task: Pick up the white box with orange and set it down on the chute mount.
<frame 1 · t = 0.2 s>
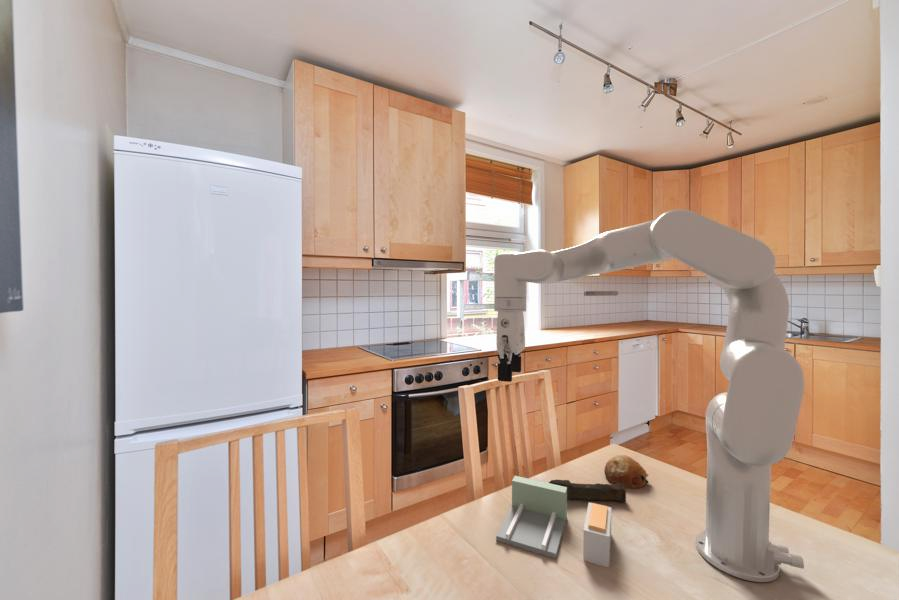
hand: (510, 376, 89), 31 cm above the table, tool pointing down, fingers open, 9 cm apart
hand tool: (585, 501, 90), on the table
chute mount: (533, 528, 80), on the table
bread roll: (626, 480, 100), on the table
white box with orange: (597, 547, 74), on the table
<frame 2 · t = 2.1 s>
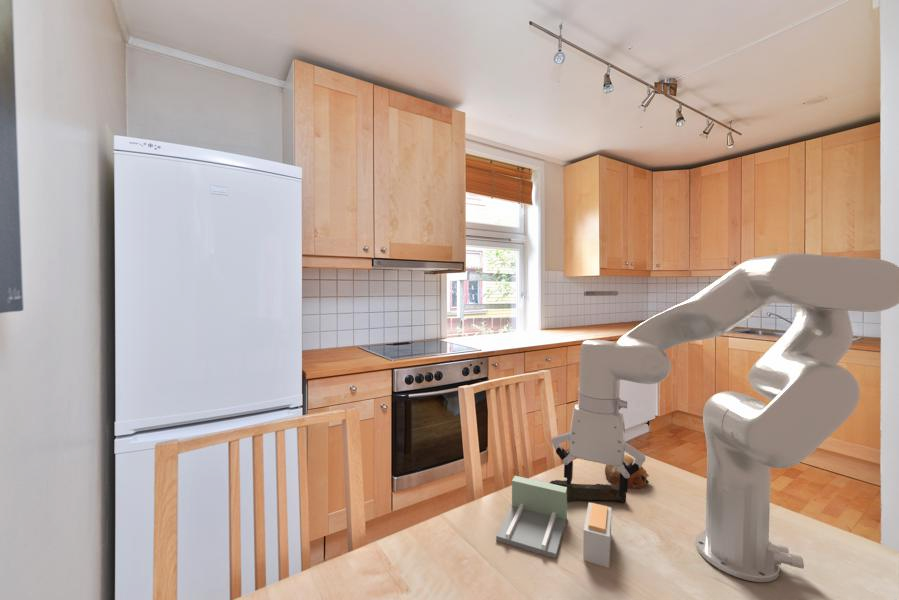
hand: (594, 487, 74), 12 cm above the table, tool pointing down, fingers open, 9 cm apart
nothing on the table moved.
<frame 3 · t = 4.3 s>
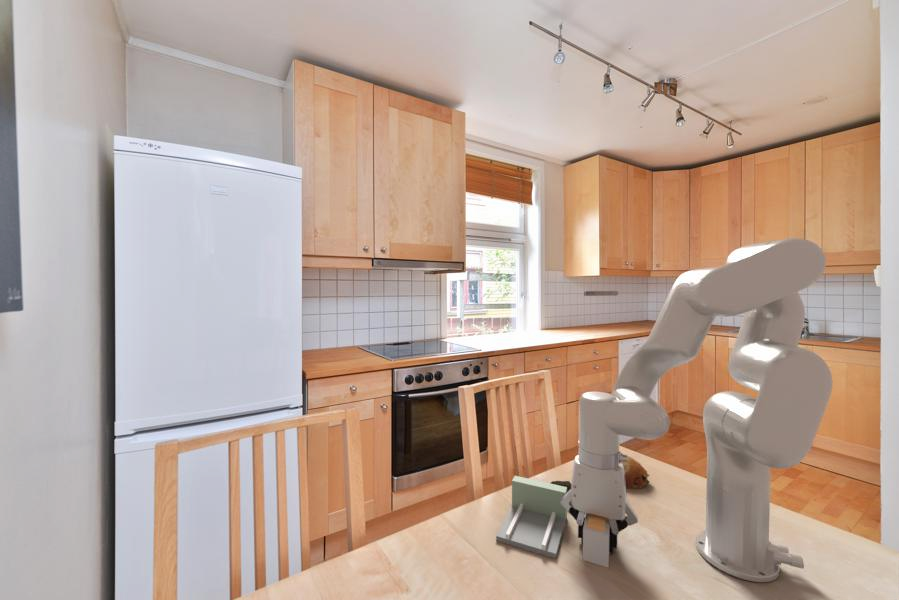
hand: (597, 544, 74), 0 cm above the table, tool pointing down, fingers closed on white box with orange, 4 cm apart
white box with orange: (597, 546, 74), on the table, touching gripper
everything else where it was.
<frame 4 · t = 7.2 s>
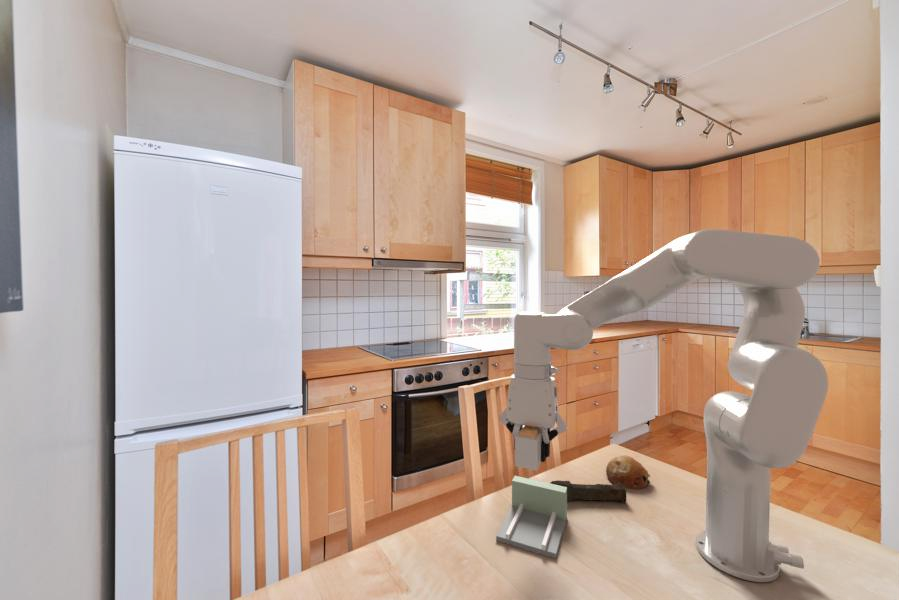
hand: (531, 455, 78), 16 cm above the table, tool pointing down, fingers closed on white box with orange, 4 cm apart
white box with orange: (531, 457, 78), point 16 cm above the table, touching gripper
everything else where it was.
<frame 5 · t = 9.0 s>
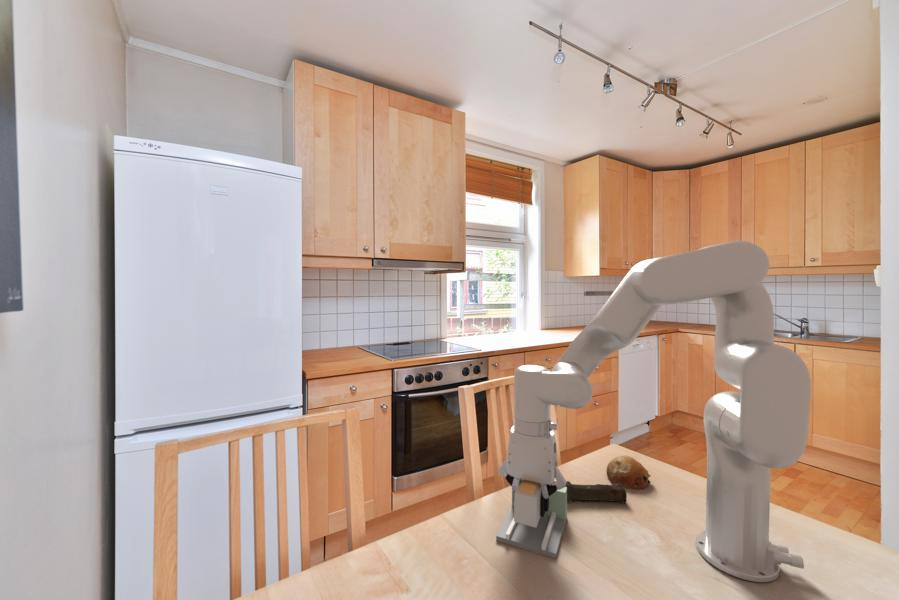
hand: (530, 509, 79), 5 cm above the table, tool pointing down, fingers closed on white box with orange, 4 cm apart
white box with orange: (530, 511, 79), point 5 cm above the table, touching gripper
everything else where it was.
when the fingers open (3 cm above the table, at t = 10.3 s): white box with orange drops 1 cm, resting on chute mount.
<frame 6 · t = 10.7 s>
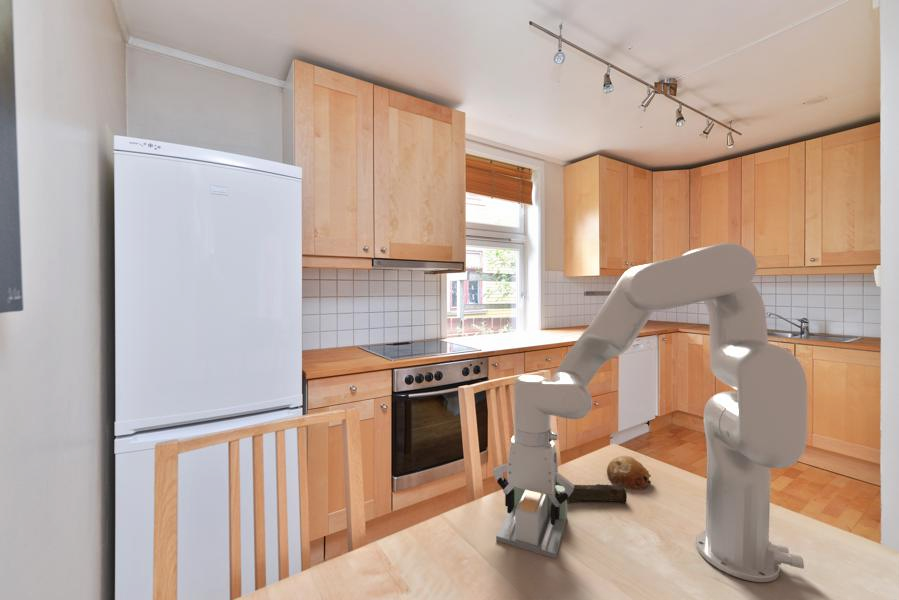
hand: (531, 515, 79), 4 cm above the table, tool pointing down, fingers open, 8 cm apart
white box with orange: (532, 527, 79), point 1 cm above the table, touching chute mount
everything else where it was.
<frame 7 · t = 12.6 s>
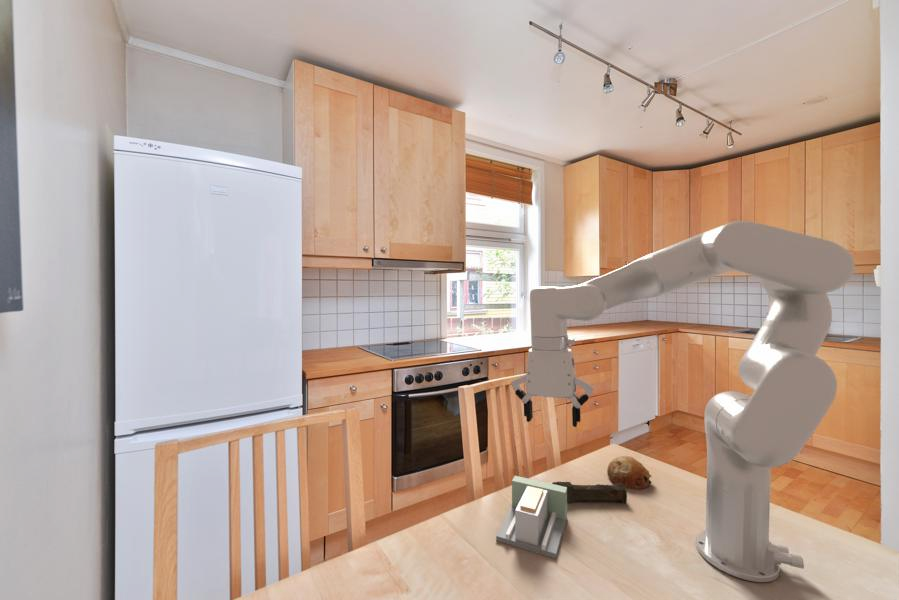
hand: (551, 422, 80), 23 cm above the table, tool pointing down, fingers open, 9 cm apart
nothing on the table moved.
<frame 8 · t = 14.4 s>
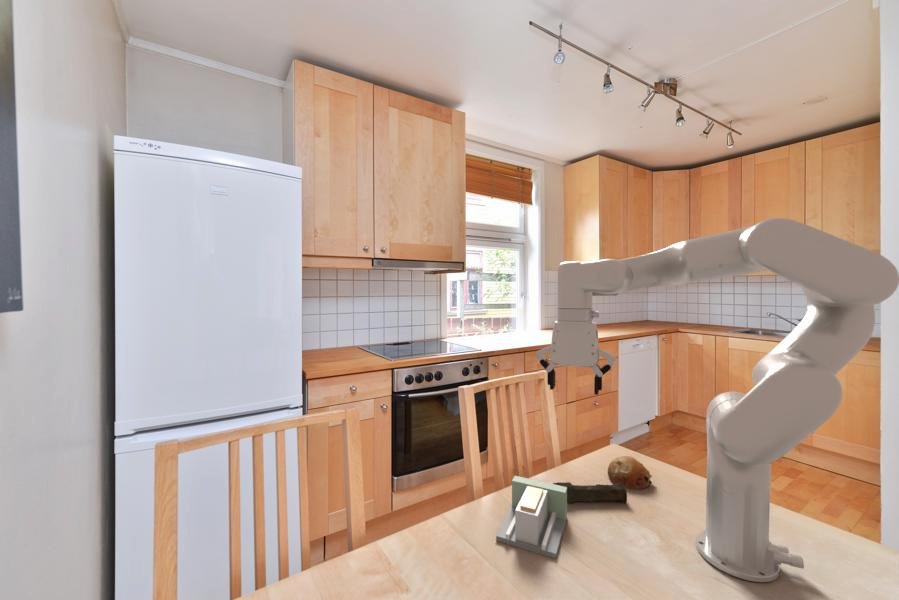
hand: (574, 390, 85), 28 cm above the table, tool pointing down, fingers open, 9 cm apart
nothing on the table moved.
at the end: white box with orange 0.1 cm from the target spot on the chute mount, point 1.0 cm above the chute mount's base; white box with orange tilted 0°; the gripper is holding nothing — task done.
